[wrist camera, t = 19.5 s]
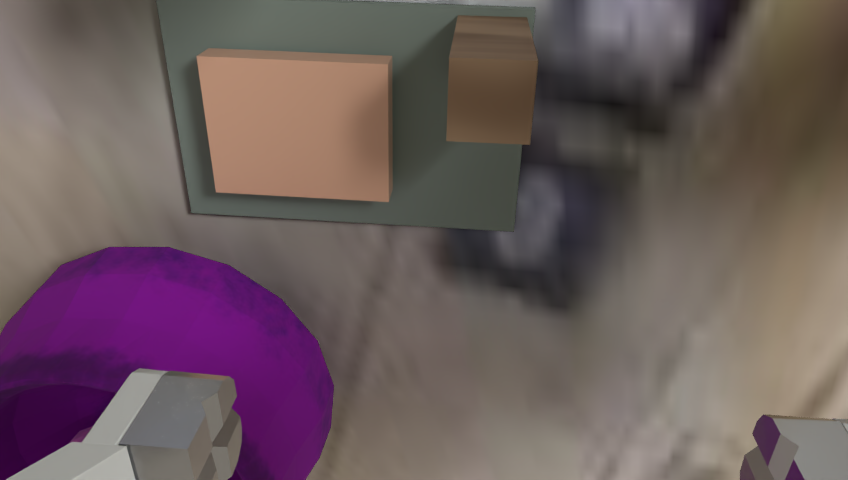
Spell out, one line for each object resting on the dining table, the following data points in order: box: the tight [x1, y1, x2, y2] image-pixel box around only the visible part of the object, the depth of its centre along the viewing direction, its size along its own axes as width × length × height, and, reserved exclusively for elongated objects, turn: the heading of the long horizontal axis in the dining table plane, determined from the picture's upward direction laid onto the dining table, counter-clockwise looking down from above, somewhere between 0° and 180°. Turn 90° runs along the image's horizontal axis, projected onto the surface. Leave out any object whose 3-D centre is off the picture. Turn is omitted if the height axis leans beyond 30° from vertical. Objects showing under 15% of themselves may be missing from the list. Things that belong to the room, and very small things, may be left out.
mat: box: [156, 0, 535, 232], centre depth 34 cm, size 18×12×1 cm, turn 89°
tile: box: [196, 48, 393, 202], centre depth 33 cm, size 2×7×9 cm
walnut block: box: [446, 15, 538, 145], centre depth 28 cm, size 3×3×8 cm
